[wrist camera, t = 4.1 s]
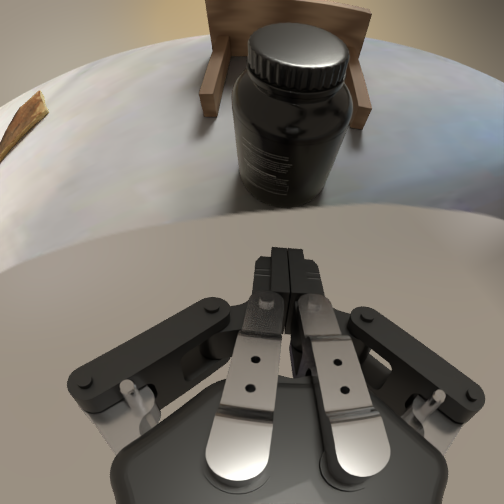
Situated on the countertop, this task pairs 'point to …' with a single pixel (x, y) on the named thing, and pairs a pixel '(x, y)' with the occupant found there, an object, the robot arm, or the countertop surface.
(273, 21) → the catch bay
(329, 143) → the supplement bottle
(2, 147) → the shard
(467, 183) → the countertop surface
